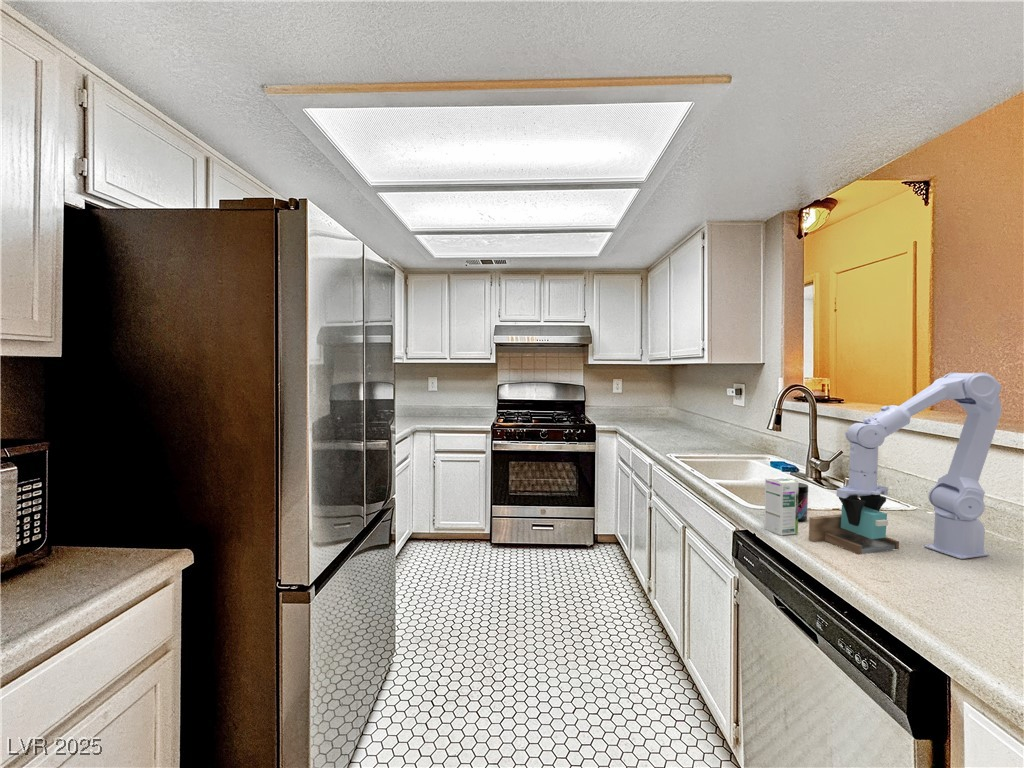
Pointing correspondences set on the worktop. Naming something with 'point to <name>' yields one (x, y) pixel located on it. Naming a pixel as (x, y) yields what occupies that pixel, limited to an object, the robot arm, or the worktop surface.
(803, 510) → the supplement container
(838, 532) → the wooden tray
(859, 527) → the cabinet block
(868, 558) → the worktop surface
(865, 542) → the grey flat plate
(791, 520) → the syrup box
